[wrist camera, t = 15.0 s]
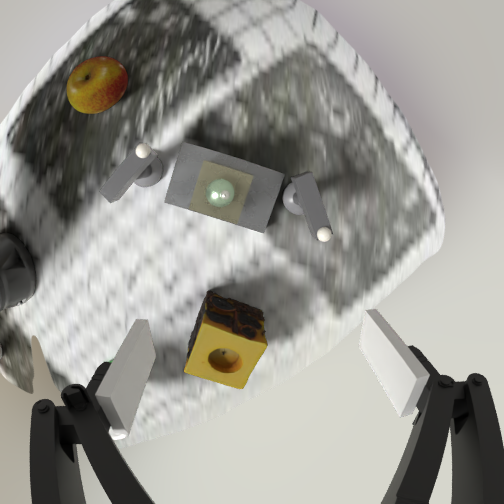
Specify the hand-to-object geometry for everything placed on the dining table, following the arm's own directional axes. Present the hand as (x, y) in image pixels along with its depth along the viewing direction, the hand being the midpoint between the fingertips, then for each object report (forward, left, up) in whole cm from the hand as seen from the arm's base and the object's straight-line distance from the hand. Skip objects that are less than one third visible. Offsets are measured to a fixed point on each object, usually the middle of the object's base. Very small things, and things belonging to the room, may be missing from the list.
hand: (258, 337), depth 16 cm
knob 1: (-17, +4, -29) cm, 34 cm away
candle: (+2, -17, -29) cm, 34 cm away
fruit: (-28, +15, -29) cm, 43 cm away
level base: (-5, +5, -29) cm, 30 cm away
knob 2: (+6, +7, -29) cm, 30 cm away
